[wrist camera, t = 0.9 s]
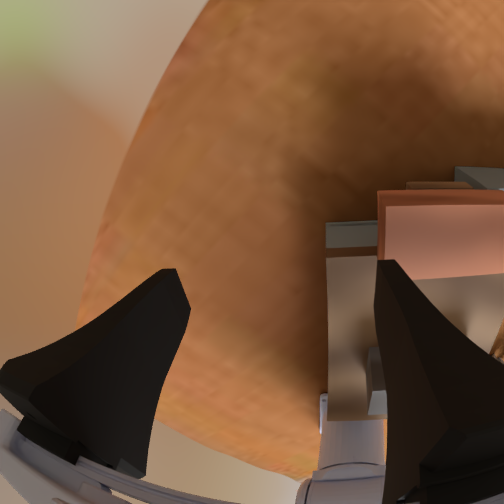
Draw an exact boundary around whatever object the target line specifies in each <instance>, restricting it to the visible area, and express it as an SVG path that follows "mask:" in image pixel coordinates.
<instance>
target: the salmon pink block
mask: <svg viewBox="0 0 504 504" xmlns="http://www.w3.org/2000/svg"><path fill="white" fill-rule="evenodd" d="M377 196H378V239H377V260H388V259H395V260H396V261H397V262H398V264H399V265H400V266H401V267H402V268H403V270H404V271H405V272H406V273H407V275H408V276H409V277H410V278H411V279H412V280H419V279H434V278H449V277H463V276H475V275H488V274H499V273H504V191H503V190H473V189H428V190H383V191H377Z"/></svg>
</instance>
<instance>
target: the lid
mask: <svg viewBox="0 0 504 504" xmlns="http://www.w3.org/2000/svg"><path fill="white" fill-rule="evenodd" d="M428 189H473V190H474V188H473V187H472V186H470V185H469V184H468V183H466V182H406V190H428ZM376 269H377V246H364V247H342V248H326V272H327V299H328V401H327V421H361V420H379V419H387V394H386V385H385V379H384V373H383V367H382V362H381V356H380V351H379V346H378V340H377V335H376V329H375V318H374V307H373V305H374V294H375V283H376ZM412 281H413V282H414V283H415V284H416V285H417V287H418V288H419V289H420V290H421V291H422V292H423V293H424V295H425V296H426V297H427V298H428V299H429V300H430V301H431V303H432V304H433V305H434V306H435V307H436V308H437V309H438V310H439V311H440V312H441V313H442V314H443V315H444V316H445V317H446V318H447V319H448V320H449V321H450V322H451V323H452V324H453V325H454V326H455V327H456V328H458V329H459V330H460V331H461V332H462V333H463V334H464V335H465V336H467V337H468V338H469V339H470V340H471V341H473V342H474V343H475V344H476V345H478V346H479V347H480V348H482V349H483V350H484V351H485V352H487V353H488V354H489V353H490V350H491V348H492V346H493V343H494V341H495V339H496V336H497V334H498V331H499V329H500V326H501V323H502V321H503V318H504V273H499V274H488V275H475V276H463V277H449V278H434V279H419V280H412Z"/></svg>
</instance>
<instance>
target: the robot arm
mask: <svg viewBox="0 0 504 504" xmlns="http://www.w3.org/2000/svg"><path fill="white" fill-rule="evenodd" d="M373 307H374V318H375V329H376V335H377V340H378V346H379V351H380V356H381V362H382V367H383V373H384V379H385V385H386V394H387V456H386V466H385V465H384V429H383V419H379V420H361V421H327V401H328V393H323V394H321V395H320V433H321V442H320V451H319V460H318V468H317V471H313V475H312V478H311V479H306V480H305V481H304V482H303V483H302V484H301V485H300V487H299V489H298V492H297V496H296V503H295V504H504V364H503V363H501V362H500V361H498V360H497V359H495V358H494V357H492V356H491V355H489V354H488V353H487V352H485V351H484V350H483V349H482V348H480V347H479V346H478V345H476V344H475V343H474V342H473V341H471V340H470V339H469V338H468V337H467V336H465V335H464V334H463V333H462V332H461V331H460V330H459V329H458V328H456V327H455V326H454V325H453V324H452V323H451V322H450V321H449V320H448V319H447V318H446V317H445V316H444V315H443V314H442V313H441V312H440V311H439V310H438V309H437V308H436V307H435V306H434V305H433V304H432V303H431V301H430V300H429V299H428V298H427V297H426V296H425V295H424V293H423V292H422V291H421V290H420V289H419V288H418V287H417V285H416V284H415V283H414V282H413V281H412V279H411V278H410V277H409V276H408V275H407V273H406V272H405V271H404V270H403V268H402V267H401V266H400V265H399V264H398V262H397V261H396V260H395V259H388V260H377V269H376V283H375V294H374V305H373ZM190 312H191V307H190V305H189V302H188V300H187V297H186V294H185V292H184V289H183V287H182V284H181V281H180V279H179V276H178V273H177V271H176V268H175V269H161V270H159V271H158V272H156V273H155V274H153V275H152V276H151V277H149V278H148V279H147V280H145V281H144V282H143V283H142V284H140V285H139V286H138V287H136V288H135V289H134V290H133V291H131V292H130V293H129V294H128V295H126V296H125V297H124V298H122V299H121V300H120V301H119V302H117V303H116V304H114V305H113V306H112V307H110V308H109V309H108V310H106V311H105V312H104V313H102V314H101V315H100V316H98V317H97V318H95V319H94V320H92V321H91V322H89V323H88V324H86V325H85V326H83V327H81V328H80V329H78V330H76V331H75V332H73V333H71V334H69V335H67V336H66V337H64V338H62V339H60V340H58V341H56V342H54V343H52V344H50V345H48V346H45V347H43V348H41V349H38V350H36V351H33V352H31V353H28V354H25V355H22V356H19V357H16V358H13V359H9V360H8V361H7V362H6V363H5V364H4V365H3V367H2V368H1V369H0V393H1V394H2V395H3V396H4V397H5V399H7V400H8V401H9V402H10V403H11V404H12V405H13V406H14V407H15V408H16V409H17V410H18V411H19V412H20V413H21V414H22V415H24V417H23V419H22V421H21V420H19V419H18V418H17V417H15V416H14V415H12V414H11V413H9V412H8V411H6V410H5V409H1V411H0V473H1V475H3V477H4V478H5V479H6V480H7V481H8V482H9V483H10V484H11V485H12V486H13V488H14V489H15V490H16V491H17V492H18V493H19V494H20V495H22V497H23V498H24V499H25V500H26V501H27V502H28V503H29V504H131V503H130V502H128V501H126V500H123V499H121V498H119V497H117V496H114V495H112V492H111V490H110V489H112V490H114V491H117V492H119V493H122V494H124V495H127V496H129V497H132V498H135V499H137V500H140V501H143V502H146V503H149V504H239V503H233V502H227V501H221V500H216V499H211V498H206V497H201V496H197V495H192V494H188V493H184V492H180V491H176V490H172V489H169V488H165V487H161V486H158V485H155V484H152V483H149V482H146V481H143V480H139V479H141V478H143V477H144V476H146V466H147V456H148V448H149V442H150V436H151V430H152V425H153V421H154V416H155V412H156V408H157V404H158V400H159V397H160V393H161V390H162V386H163V384H164V381H165V378H166V376H167V373H168V371H169V369H170V366H171V364H172V362H173V359H174V357H175V355H176V352H177V350H178V348H179V345H180V343H181V340H182V338H183V336H184V333H185V330H186V327H187V323H188V320H189V316H190ZM109 488H110V489H109Z"/></svg>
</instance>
